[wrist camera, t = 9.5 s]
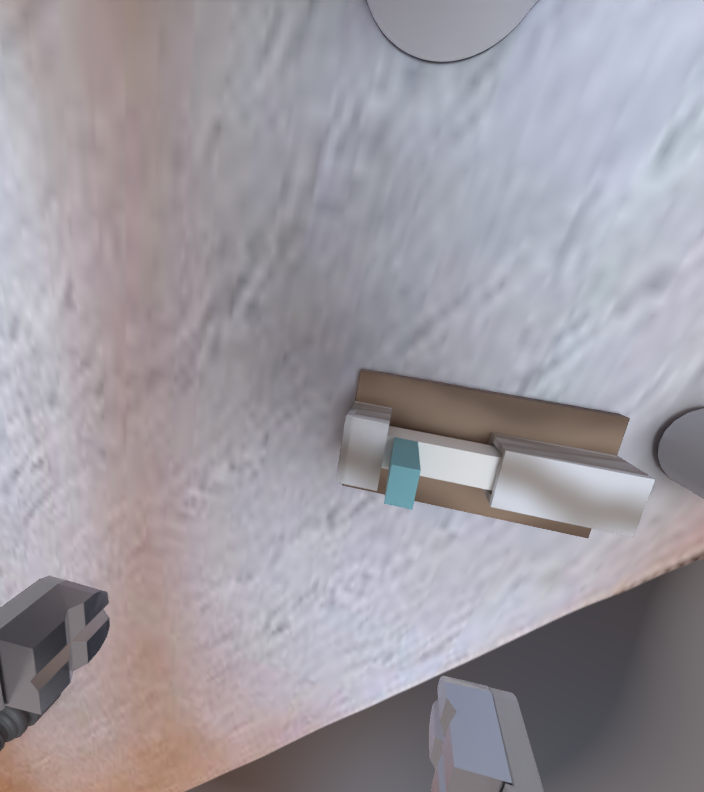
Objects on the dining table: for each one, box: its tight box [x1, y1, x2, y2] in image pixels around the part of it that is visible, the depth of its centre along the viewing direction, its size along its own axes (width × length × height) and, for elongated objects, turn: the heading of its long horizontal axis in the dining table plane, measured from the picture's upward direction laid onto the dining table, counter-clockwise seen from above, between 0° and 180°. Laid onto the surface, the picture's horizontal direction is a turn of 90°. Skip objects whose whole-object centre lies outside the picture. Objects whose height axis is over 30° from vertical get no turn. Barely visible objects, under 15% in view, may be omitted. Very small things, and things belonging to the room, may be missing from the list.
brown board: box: [336, 369, 655, 538], centre depth 31 cm, size 12×24×7 cm, turn 81°
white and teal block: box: [381, 426, 502, 509], centre depth 28 cm, size 3×16×9 cm, turn 81°
